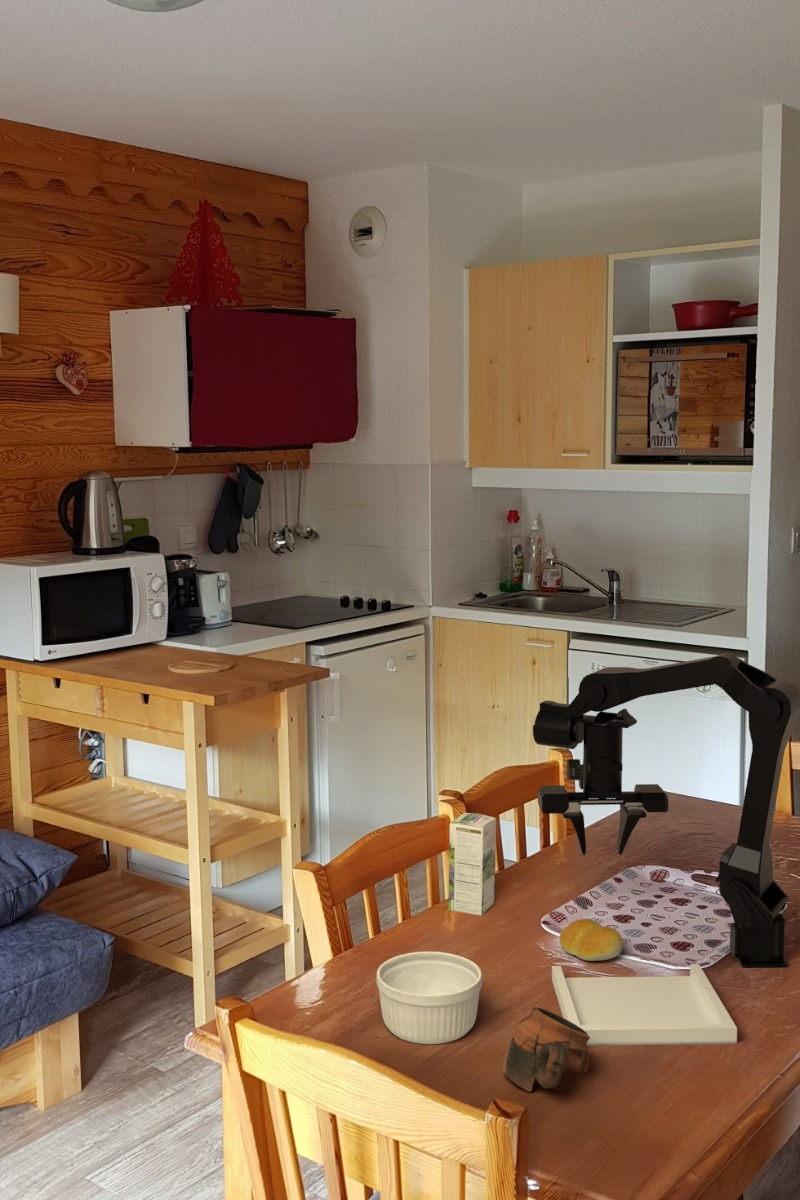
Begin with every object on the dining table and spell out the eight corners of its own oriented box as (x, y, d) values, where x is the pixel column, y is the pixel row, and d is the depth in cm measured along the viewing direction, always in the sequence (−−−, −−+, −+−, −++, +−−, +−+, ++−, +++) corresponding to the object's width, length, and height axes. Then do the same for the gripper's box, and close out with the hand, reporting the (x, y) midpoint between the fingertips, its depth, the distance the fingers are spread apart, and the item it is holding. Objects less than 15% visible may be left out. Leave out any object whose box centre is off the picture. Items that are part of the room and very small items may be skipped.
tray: (698, 978, 163) (698, 964, 163) (736, 1043, 145) (737, 1028, 145) (551, 980, 163) (551, 966, 162) (571, 1045, 145) (572, 1030, 145)
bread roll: (597, 967, 165) (596, 940, 165) (550, 949, 172) (549, 923, 172) (636, 950, 170) (635, 923, 170) (589, 933, 177) (588, 907, 177)
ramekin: (457, 994, 159) (457, 944, 158) (499, 1039, 147) (499, 985, 146) (363, 1011, 155) (362, 959, 154) (398, 1059, 142) (398, 1003, 141)
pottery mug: (489, 1060, 142) (517, 994, 143) (559, 1092, 142) (587, 1026, 144) (511, 1092, 130) (542, 1020, 131) (588, 1127, 131) (618, 1055, 132)
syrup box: (461, 898, 192) (461, 811, 190) (496, 904, 190) (496, 815, 188) (448, 911, 187) (447, 821, 185) (483, 917, 185) (483, 826, 183)
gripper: (653, 739, 186) (651, 835, 188) (533, 740, 186) (533, 837, 188) (670, 757, 175) (668, 860, 177) (542, 759, 175) (542, 861, 177)
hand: (601, 854), depth 180 cm, fingers open, 5 cm apart
